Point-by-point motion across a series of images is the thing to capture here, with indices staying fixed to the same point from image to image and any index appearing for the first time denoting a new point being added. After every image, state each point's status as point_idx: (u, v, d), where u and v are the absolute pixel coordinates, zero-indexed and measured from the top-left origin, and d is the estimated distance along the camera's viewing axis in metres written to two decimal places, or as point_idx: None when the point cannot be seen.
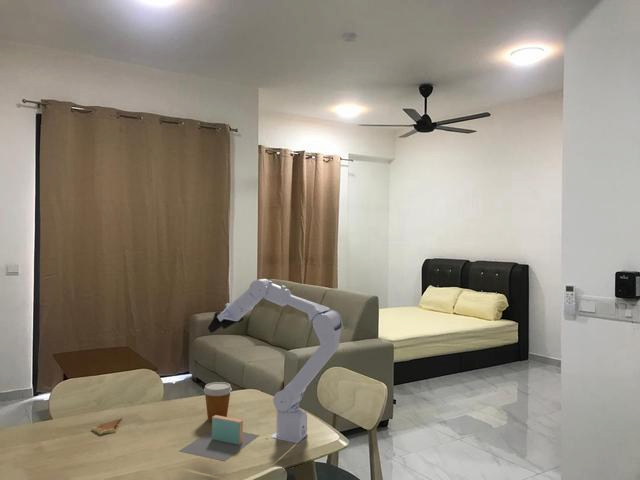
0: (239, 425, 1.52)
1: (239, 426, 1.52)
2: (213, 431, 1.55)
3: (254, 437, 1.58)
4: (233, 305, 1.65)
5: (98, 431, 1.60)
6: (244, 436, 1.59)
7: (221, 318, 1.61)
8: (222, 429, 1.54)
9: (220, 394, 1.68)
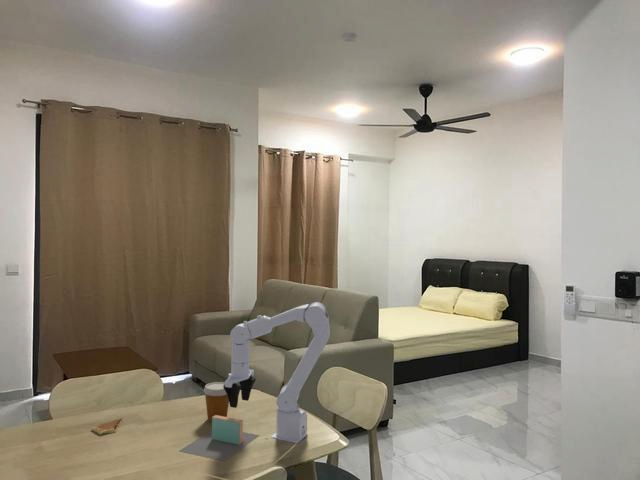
0: (239, 425, 1.52)
1: (239, 426, 1.52)
2: (213, 431, 1.55)
3: (254, 437, 1.58)
4: (232, 368, 1.59)
5: (98, 431, 1.60)
6: (244, 436, 1.59)
7: (229, 384, 1.54)
8: (222, 429, 1.54)
9: (220, 394, 1.68)
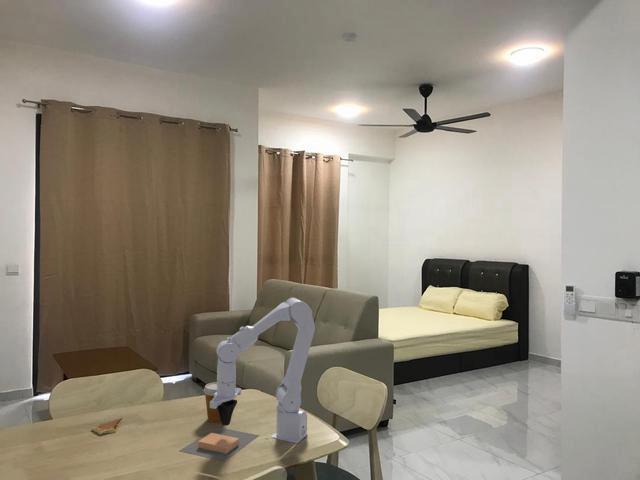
0: (228, 451, 1.46)
1: (228, 451, 1.47)
2: None
3: (254, 437, 1.58)
4: (218, 387, 1.52)
5: (98, 431, 1.60)
6: (244, 436, 1.59)
7: (214, 404, 1.47)
8: None
9: None
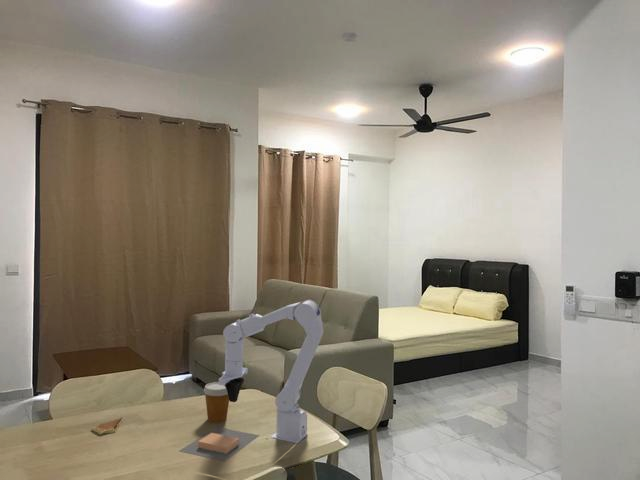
0: (228, 451, 1.46)
1: (228, 451, 1.47)
2: None
3: (254, 437, 1.58)
4: (226, 366, 1.61)
5: (98, 431, 1.60)
6: (244, 436, 1.59)
7: (222, 381, 1.56)
8: None
9: (220, 394, 1.68)
